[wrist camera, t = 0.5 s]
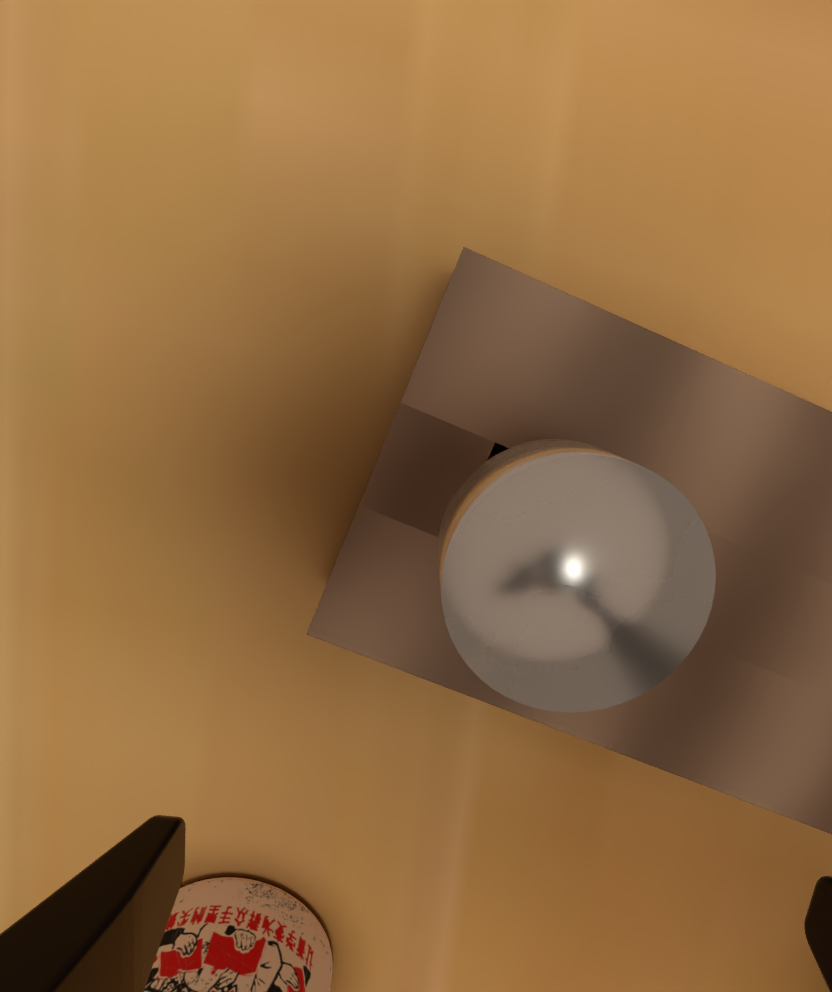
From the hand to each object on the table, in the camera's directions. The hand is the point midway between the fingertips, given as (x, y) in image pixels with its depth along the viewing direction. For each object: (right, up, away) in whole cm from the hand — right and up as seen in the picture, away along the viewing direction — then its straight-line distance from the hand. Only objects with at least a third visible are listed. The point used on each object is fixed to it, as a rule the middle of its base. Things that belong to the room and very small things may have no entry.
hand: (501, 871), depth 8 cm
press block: (+9, +3, +13) cm, 16 cm away
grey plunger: (+2, +5, +9) cm, 10 cm away
